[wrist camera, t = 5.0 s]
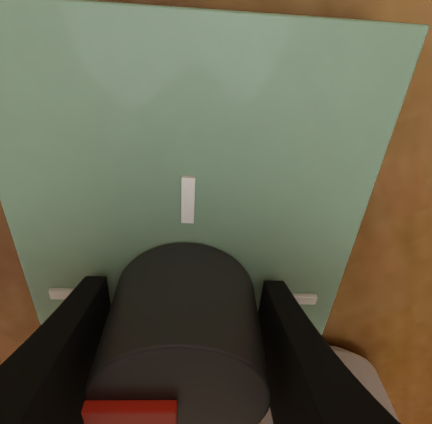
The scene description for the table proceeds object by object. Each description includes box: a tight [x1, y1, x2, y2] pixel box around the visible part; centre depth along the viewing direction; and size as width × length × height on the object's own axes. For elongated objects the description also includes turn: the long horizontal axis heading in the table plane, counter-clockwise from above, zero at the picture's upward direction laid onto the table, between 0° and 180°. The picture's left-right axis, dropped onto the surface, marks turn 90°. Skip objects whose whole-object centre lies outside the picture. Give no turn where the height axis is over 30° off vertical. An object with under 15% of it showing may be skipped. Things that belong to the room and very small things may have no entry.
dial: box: [81, 243, 272, 424], centre depth 9 cm, size 4×4×4 cm
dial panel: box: [0, 0, 429, 335], centre depth 11 cm, size 12×10×3 cm
